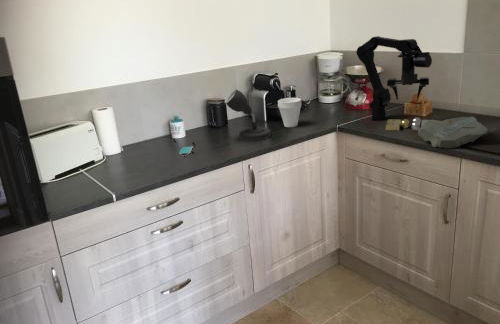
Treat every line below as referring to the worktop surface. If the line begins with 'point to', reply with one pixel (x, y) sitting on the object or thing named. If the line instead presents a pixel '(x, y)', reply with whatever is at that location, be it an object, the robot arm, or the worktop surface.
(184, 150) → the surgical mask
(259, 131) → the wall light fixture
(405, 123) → the olive box with knob
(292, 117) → the cup
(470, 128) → the stone
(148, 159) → the worktop surface
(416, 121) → the fixed leaf
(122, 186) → the worktop surface
